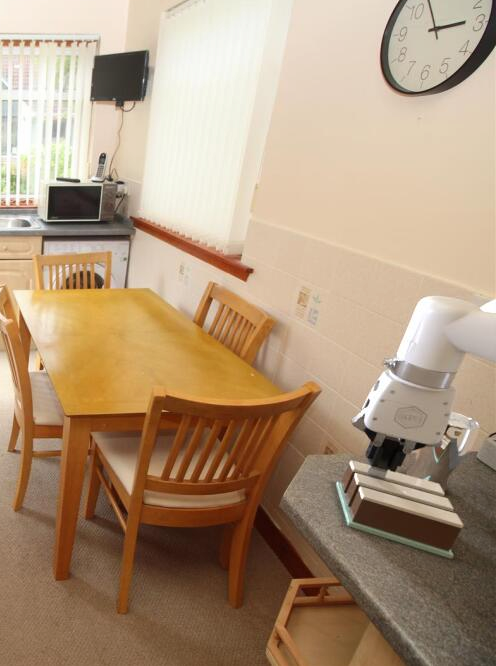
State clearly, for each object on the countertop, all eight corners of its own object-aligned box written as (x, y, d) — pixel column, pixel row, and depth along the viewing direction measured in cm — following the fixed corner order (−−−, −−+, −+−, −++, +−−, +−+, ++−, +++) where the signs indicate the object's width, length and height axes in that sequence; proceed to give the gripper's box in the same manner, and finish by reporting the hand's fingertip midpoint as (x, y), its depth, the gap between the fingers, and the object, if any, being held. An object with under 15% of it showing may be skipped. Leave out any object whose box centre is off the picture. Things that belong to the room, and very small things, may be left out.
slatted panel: (427, 511, 86) (441, 482, 84) (452, 559, 76) (469, 529, 74) (335, 484, 92) (346, 457, 89) (347, 526, 82) (360, 497, 79)
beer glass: (445, 501, 89) (480, 434, 83) (398, 481, 93) (428, 416, 88) (450, 485, 93) (484, 420, 87) (405, 467, 98) (434, 404, 92)
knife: (372, 500, 87) (400, 438, 81) (374, 504, 85) (402, 442, 80) (355, 495, 88) (382, 434, 82) (357, 500, 86) (384, 438, 81)
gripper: (367, 369, 77) (330, 462, 84) (497, 395, 70) (446, 493, 77) (357, 352, 83) (324, 440, 90) (476, 375, 76) (430, 467, 83)
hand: (380, 464), depth 83 cm, fingers closed on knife
